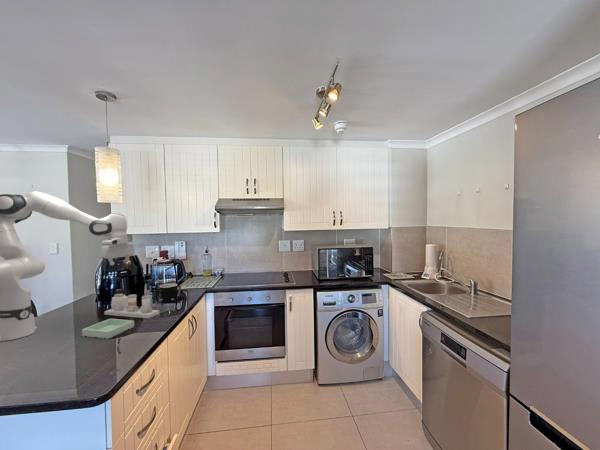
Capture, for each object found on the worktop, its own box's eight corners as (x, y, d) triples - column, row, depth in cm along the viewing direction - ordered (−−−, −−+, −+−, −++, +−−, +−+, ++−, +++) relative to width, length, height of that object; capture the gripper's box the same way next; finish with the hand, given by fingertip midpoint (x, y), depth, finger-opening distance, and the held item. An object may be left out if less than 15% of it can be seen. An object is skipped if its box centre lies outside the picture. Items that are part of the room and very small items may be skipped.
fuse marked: (126, 311, 169) (126, 295, 169) (132, 309, 174) (132, 294, 174) (132, 312, 168) (132, 296, 168) (138, 310, 173) (138, 294, 173)
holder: (104, 314, 170) (104, 306, 170) (116, 310, 179) (116, 302, 179) (149, 318, 164) (149, 310, 164) (159, 313, 173) (159, 305, 172)
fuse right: (139, 312, 167) (140, 296, 167) (145, 310, 172) (145, 294, 172) (146, 313, 167) (146, 297, 166) (151, 311, 171) (151, 295, 171)
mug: (161, 298, 206) (161, 283, 206) (183, 298, 208) (183, 282, 208) (152, 305, 190) (152, 288, 190) (176, 304, 192) (176, 287, 192)
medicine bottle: (128, 306, 186) (128, 289, 186) (116, 309, 180) (116, 291, 180) (123, 305, 190) (123, 288, 190) (111, 307, 184) (111, 290, 183)
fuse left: (112, 310, 171) (112, 294, 171) (118, 308, 176) (118, 293, 176) (118, 311, 170) (118, 295, 170) (124, 308, 175) (124, 293, 175)
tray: (82, 336, 137) (82, 329, 137) (109, 324, 153) (109, 318, 153) (108, 339, 134) (108, 331, 134) (134, 326, 150) (134, 320, 150)
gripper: (128, 239, 172) (129, 261, 172) (98, 241, 152) (99, 266, 152) (137, 239, 171) (137, 261, 171) (107, 241, 151) (108, 266, 151)
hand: (119, 263), depth 162 cm, fingers open, 8 cm apart
